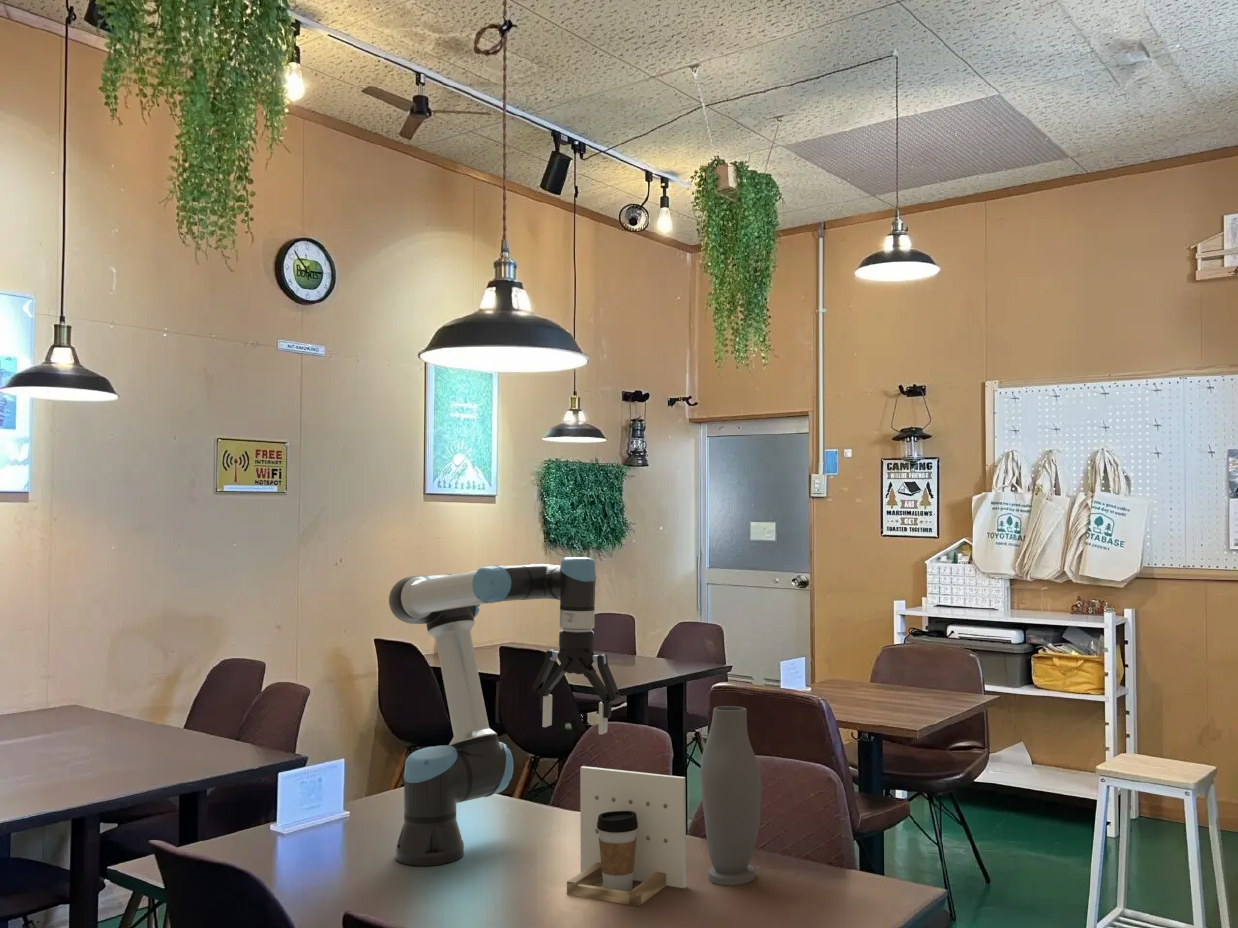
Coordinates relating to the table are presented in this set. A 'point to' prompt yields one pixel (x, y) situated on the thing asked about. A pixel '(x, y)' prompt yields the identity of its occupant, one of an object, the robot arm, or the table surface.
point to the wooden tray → (635, 897)
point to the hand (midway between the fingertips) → (574, 729)
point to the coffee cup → (617, 848)
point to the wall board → (638, 819)
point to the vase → (730, 797)
